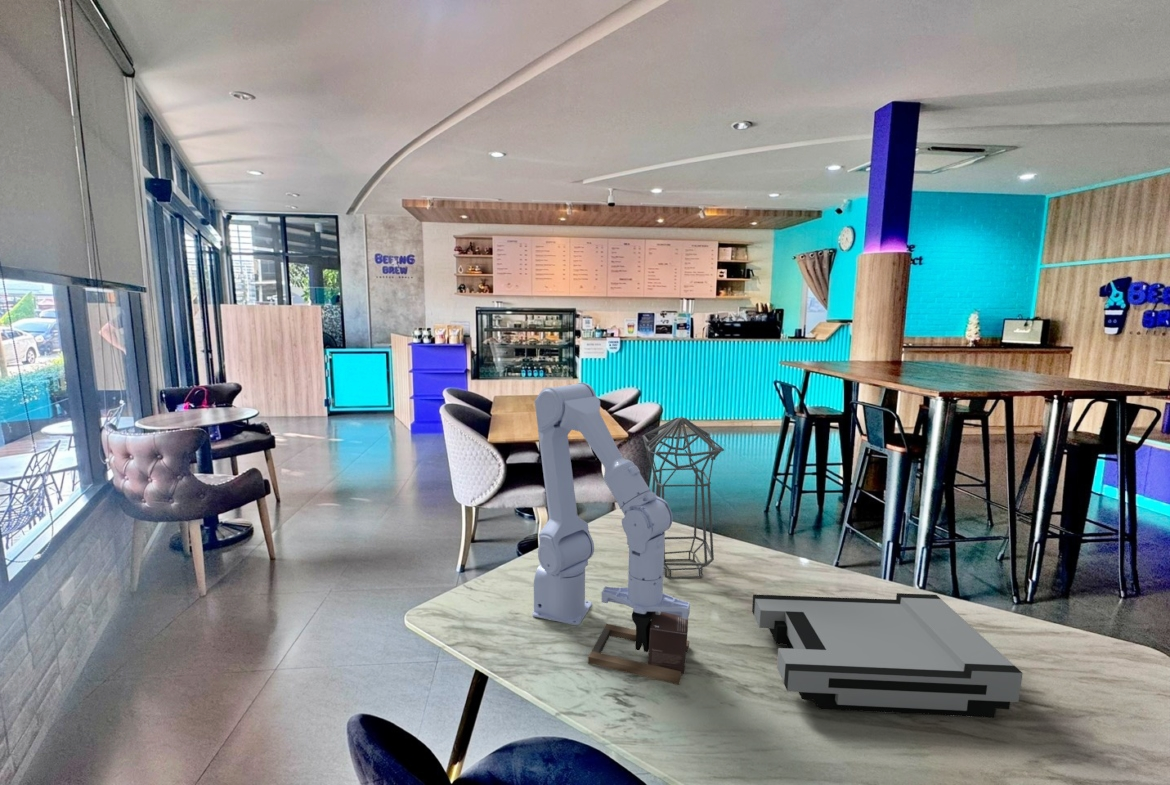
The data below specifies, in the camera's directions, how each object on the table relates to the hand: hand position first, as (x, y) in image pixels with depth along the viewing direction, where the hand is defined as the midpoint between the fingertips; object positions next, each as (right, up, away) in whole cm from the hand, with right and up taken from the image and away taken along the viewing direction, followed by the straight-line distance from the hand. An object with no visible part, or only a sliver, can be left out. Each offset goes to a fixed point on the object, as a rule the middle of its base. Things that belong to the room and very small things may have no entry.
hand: (643, 647), depth 91 cm
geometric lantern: (+11, +3, +30) cm, 32 cm away
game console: (+36, -3, -3) cm, 36 cm away
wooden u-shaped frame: (-1, -1, 0) cm, 2 cm away
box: (+4, -2, -1) cm, 4 cm away
